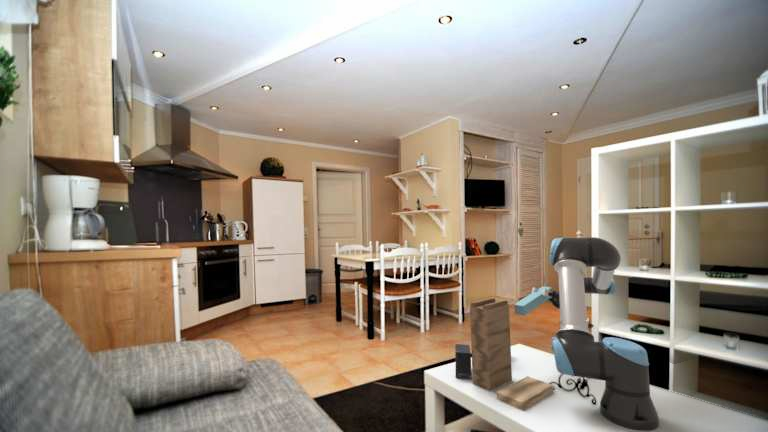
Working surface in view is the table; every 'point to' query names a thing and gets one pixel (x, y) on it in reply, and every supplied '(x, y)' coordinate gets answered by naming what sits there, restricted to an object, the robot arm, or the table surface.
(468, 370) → the small box
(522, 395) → the oak board
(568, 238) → the robot arm
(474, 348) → the stand
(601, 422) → the table surface
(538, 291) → the rod
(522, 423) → the table surface
